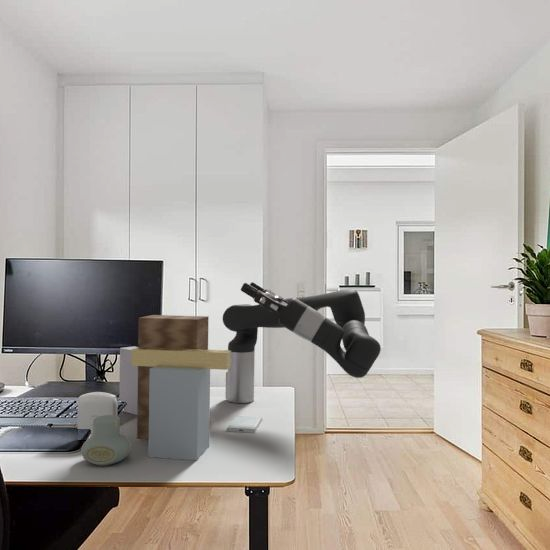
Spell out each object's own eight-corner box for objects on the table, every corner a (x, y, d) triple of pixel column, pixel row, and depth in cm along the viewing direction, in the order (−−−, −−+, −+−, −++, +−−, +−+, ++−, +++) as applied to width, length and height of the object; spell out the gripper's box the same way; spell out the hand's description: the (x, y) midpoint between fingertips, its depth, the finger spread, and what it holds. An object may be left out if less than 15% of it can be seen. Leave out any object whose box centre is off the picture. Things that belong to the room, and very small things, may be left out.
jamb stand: (136, 439, 137) (138, 317, 137) (151, 428, 146) (153, 314, 146) (195, 443, 134) (197, 319, 134) (206, 432, 144) (208, 316, 144)
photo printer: (74, 442, 134) (75, 394, 134) (80, 436, 139) (81, 390, 139) (114, 442, 134) (114, 394, 134) (119, 437, 138) (120, 390, 138)
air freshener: (134, 455, 125) (134, 413, 125) (125, 468, 117) (125, 423, 117) (88, 455, 125) (89, 413, 125) (76, 467, 117) (76, 423, 117)
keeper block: (148, 457, 124) (149, 368, 124) (163, 443, 134) (165, 361, 134) (197, 460, 122) (198, 370, 122) (209, 446, 132) (210, 363, 132)
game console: (177, 427, 149) (178, 357, 149) (118, 410, 165) (119, 348, 165) (191, 422, 153) (192, 355, 153) (133, 407, 170) (134, 346, 170)
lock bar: (131, 365, 128) (131, 349, 128) (138, 362, 132) (138, 347, 132) (226, 369, 124) (226, 352, 124) (230, 366, 128) (230, 350, 128)
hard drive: (235, 415, 158) (226, 427, 146) (262, 416, 157) (255, 428, 144) (235, 421, 158) (226, 433, 146) (262, 422, 157) (255, 434, 144)
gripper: (290, 336, 121) (231, 299, 123) (297, 329, 135) (244, 297, 137) (307, 308, 120) (247, 272, 122) (312, 305, 134) (259, 272, 136)
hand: (246, 285), depth 130 cm, fingers open, 8 cm apart
